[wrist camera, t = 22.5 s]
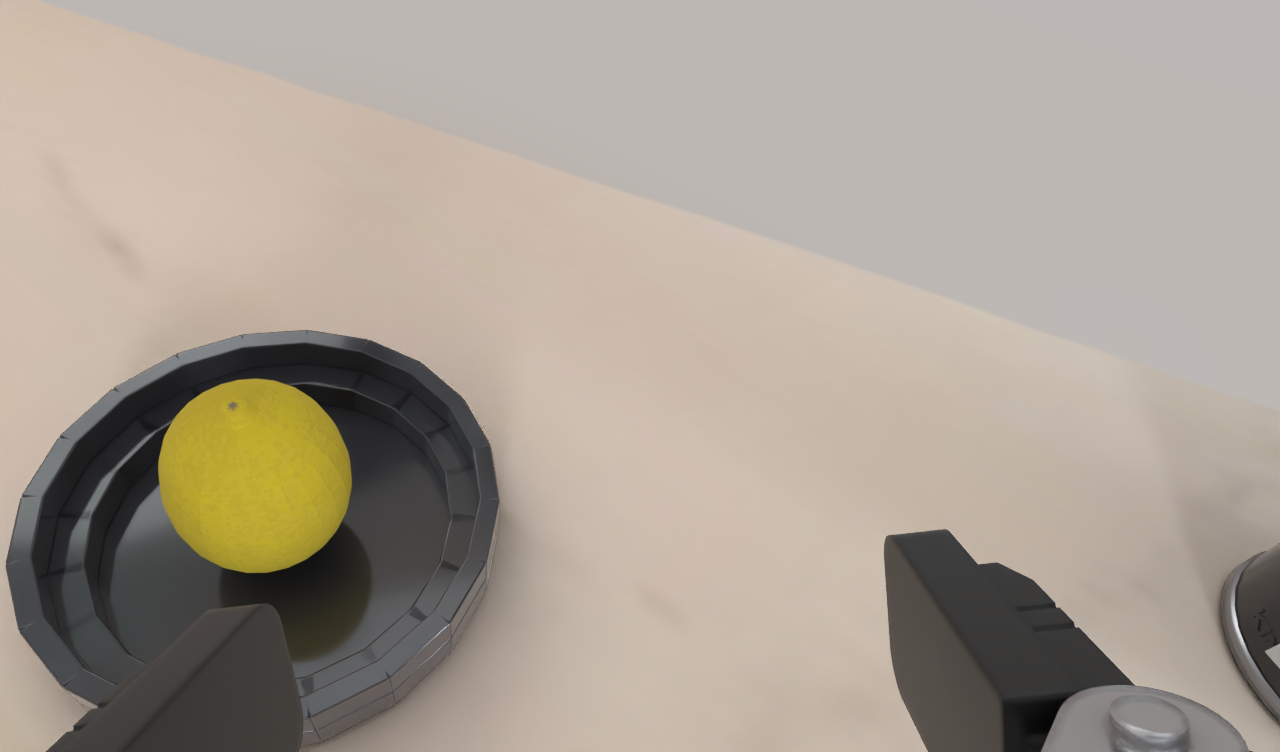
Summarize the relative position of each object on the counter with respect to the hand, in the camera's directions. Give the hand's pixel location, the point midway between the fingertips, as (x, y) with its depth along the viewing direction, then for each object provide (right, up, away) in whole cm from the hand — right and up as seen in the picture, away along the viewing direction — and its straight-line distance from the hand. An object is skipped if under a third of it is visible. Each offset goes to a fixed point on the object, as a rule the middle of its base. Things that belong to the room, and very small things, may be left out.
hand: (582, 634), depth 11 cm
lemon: (-12, -3, +19) cm, 23 cm away
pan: (-12, -3, +20) cm, 23 cm away
